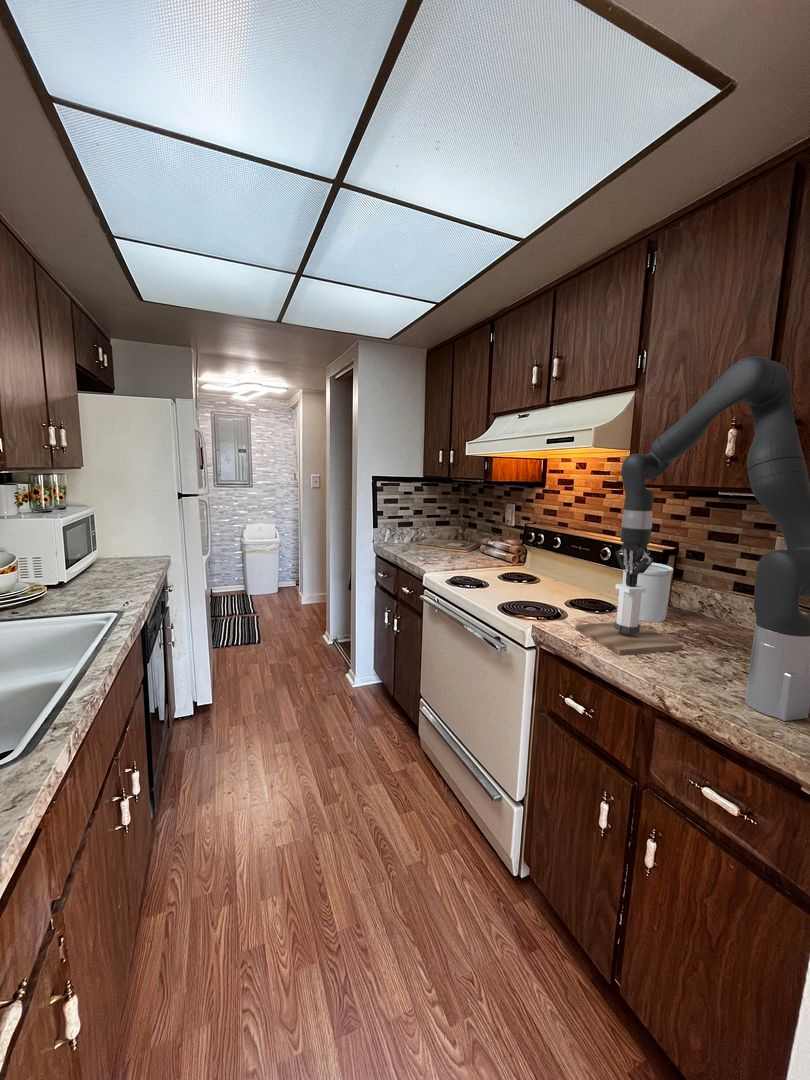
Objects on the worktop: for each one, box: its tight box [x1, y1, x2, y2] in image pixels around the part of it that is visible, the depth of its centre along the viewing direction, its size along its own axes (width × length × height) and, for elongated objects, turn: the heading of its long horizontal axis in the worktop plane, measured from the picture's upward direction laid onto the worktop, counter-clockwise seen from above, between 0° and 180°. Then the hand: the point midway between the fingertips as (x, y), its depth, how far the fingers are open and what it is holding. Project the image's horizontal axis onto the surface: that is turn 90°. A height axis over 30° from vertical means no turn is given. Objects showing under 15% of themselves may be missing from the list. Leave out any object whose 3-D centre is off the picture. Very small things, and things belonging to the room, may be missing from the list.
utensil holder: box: [621, 562, 674, 623], centre depth 151 cm, size 15×15×18 cm
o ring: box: [614, 620, 641, 633], centre depth 130 cm, size 6×6×2 cm
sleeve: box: [615, 583, 646, 627], centre depth 129 cm, size 6×6×11 cm
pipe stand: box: [574, 621, 684, 656], centre depth 129 cm, size 20×20×14 cm
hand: (630, 586), depth 128 cm, fingers closed
